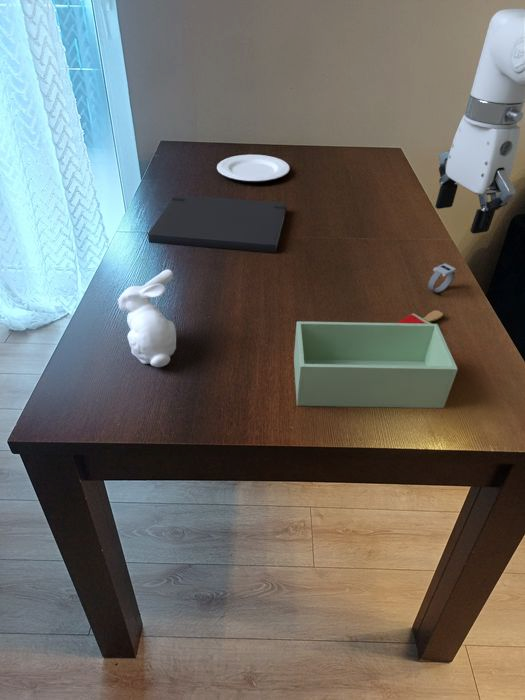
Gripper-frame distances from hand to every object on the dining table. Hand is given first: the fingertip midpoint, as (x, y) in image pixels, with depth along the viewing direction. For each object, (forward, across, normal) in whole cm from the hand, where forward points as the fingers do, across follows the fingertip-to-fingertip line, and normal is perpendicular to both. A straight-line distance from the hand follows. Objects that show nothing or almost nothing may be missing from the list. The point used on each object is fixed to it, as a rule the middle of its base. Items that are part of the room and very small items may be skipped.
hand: (460, 219), depth 84 cm
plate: (+17, +71, +13) cm, 74 cm away
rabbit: (+16, +2, +54) cm, 56 cm away
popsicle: (+16, -8, +11) cm, 21 cm away
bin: (+15, -17, +25) cm, 34 cm away
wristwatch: (+16, +1, -1) cm, 16 cm away
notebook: (+16, +41, +31) cm, 54 cm away
